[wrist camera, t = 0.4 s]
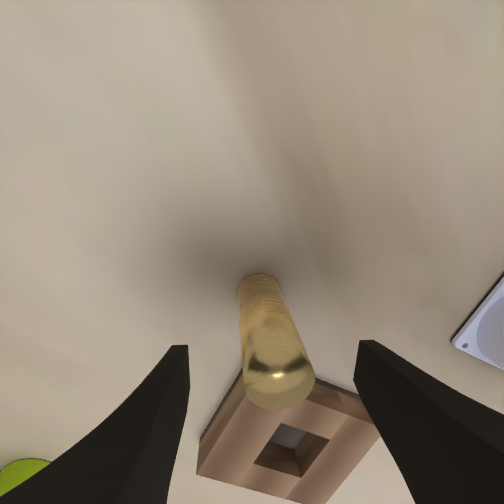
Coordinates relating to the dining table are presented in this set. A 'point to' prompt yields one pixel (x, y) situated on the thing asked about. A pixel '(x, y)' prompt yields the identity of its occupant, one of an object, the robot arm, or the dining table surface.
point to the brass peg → (271, 347)
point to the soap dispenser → (19, 473)
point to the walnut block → (287, 443)
